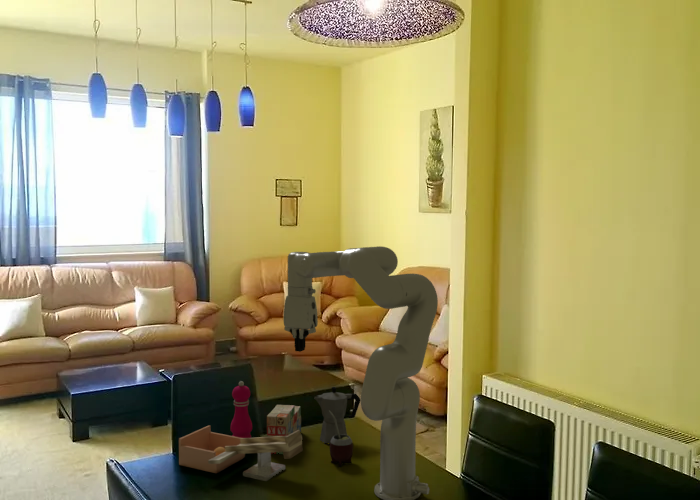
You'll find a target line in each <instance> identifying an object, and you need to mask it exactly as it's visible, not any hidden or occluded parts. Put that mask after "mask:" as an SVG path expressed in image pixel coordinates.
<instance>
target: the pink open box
mask: <svg viewBox="0 0 700 500" xmlns="http://www.w3.org/2000/svg"><path fill="white" fill-rule="evenodd" d="M211 428H212V427H211V425H207V426H204V427H202V428H200V429H197V430H195V431H192V432H191V433H189V434H186V435H184V436H182V437H178V465H179V466H182V467H187V468H192V469H195V470H200V471H205V472H209V473H213V474H218V473H220V472H221V471H223V470H225V469H227V468H229V467H230V466H232V465H234V464H236V463H238V462H240V461H241V460H243V459H245V458H246V453H244V454H237V455H235V456H233V457H231V458H229V459H227V460H226V461H224V462H222V463H220V464H209V463H208V460H210V459H212V458H214V457H216V452H214V450H215V449H216V448H218V447H223V448H225V446H237V445H239V444H241V442H240V439H241V438H240V437H235V436H232V435H229V434H223V433H218V432H213V431H211Z"/></svg>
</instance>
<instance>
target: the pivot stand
mask: <svg viewBox="0 0 700 500" xmlns="http://www.w3.org/2000/svg"><path fill="white" fill-rule="evenodd" d="M282 470H283V471H285V470H286V464H283V463H276V462H274V461H273V462H272V454H271V452H266V453H257V463H256V464H254V465H252V466H251V467H249V468H248V469H245V470H243V471H242V477H246V478H251V479H254V480H259V481H262V482H263V481H264V482H267V481H269V480H270V479H272V478H274V477H275V476H276V474H277V475H279V474H280V473H281V472H283V471H282ZM279 472H280V473H279ZM273 476H274V477H273Z"/></svg>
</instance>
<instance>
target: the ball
mask: <svg viewBox="0 0 700 500" xmlns="http://www.w3.org/2000/svg"><path fill="white" fill-rule="evenodd" d="M214 452H216V456H218V455H220V454H222V453H223V452H225V448H223V447H218V448H216V449H215V450H214Z"/></svg>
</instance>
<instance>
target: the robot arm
mask: <svg viewBox="0 0 700 500" xmlns="http://www.w3.org/2000/svg"><path fill="white" fill-rule="evenodd" d="M397 267H398V257H397V254H396V252H395V251H394V250H393V249H391V248H389V247H386V246H381V245H380V246H367V247H352V248H351V247H350V248H346V249H345V250H342V251H341V250H340V251H338V250H337V251H336V250H335V251H322V252H321V251H319V252H318V251H317V252H308V251H292V252H290V253H289V254H288V255H287V295H286V296H285V299H284V306H283V325H284V331H286V332H288V333H290V334H291V336H292V338H293V339H294V348H295V349H294V351H295V352H299V353H301V352H303V351H305V350H306V338H308V336H309V335H310V334H315V333H317V329H316V328H317V327H318V325H319V324H318V323H319V321H318V307H317V301H316V297H315V296H314V295H313V294H316V292H317V291H316V289H315V288H314V287H313V279H316V278H325V277H339V276H344V277H346V278H349V279H354V280H355V282H356V283H357V284H358V285H359V287H360V288H361V289H362V290H363V292H365V293H366V295H367V296H368V297H369V298H370V299H371V300H372V301H373V302H374V304H376V305H377V306H378V307H380V308H382V309H386V310H392V309H397V308H398V309H399V308H404V307H407V309H406V311H405V313H403V316H402V317H401V319H400V321H399V324H398V326H397V332H396V336H395V338H394V341H393V342H392V343H389V344H385V345H381V346H379V347H377V348H376V349H375V350H374V351H372V353H371V355H370V356H369V359H368V361H367V365H366V369H365V375H364V377H363V378H364V379H363V383H362V388H361V391H360V408H361V410H362V413H363V414H364V416H365V417H366V418H367V419H369V420H371V421H374V422H375V421H376V422H377V421H381V424H380V441H379V442H380V444H379V445H380V451H379V453H380V454H379V455H380V457H379V458H380V459H379V461H380V463H379V465H380V466H379V468H380V469H379V482H377V483H376V484H375V485H374V486H373V487H374V489H373V490H374V491H373V492H374V494H375V496H376V497H378V498H380V499H381V500H416V499H418V498H419V497H420V496H421V494H423V495H429V494H430V487H429V484H428V483H425V482H421V481H419V480H420V478H419V476H418V475H416V448H417V447H416V444H417V442H416V440H417V439H416V437H417V436H416V435H417V418H418V412H419V407H420V402H421V401H420V400H421V395H420V393H421V392H420V389H419V387H418V384H417V383H416V382H415V381H414V380H413V379H412V378H410V377H413V376H416V375H417V374H419V373H420V372H421V370H422V367H423V364H424V362H425V361H424V360H425V358H426V357H425V355H426V352H427V349H428V343H429V340H430V335H431V332H432V331H431V330H432V329H433V324H434V321H435V318H436V316H437V311H438V306H439V299H438V293H437V289H436V287H435V286H434V284H433V283H432V282H431V280H430V279H429V278H427V277H426V276H424V275H422V274H419V273H402V274H394V275H393V273H394V272H395V270H396V269H397ZM391 274H392V275H391Z"/></svg>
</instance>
